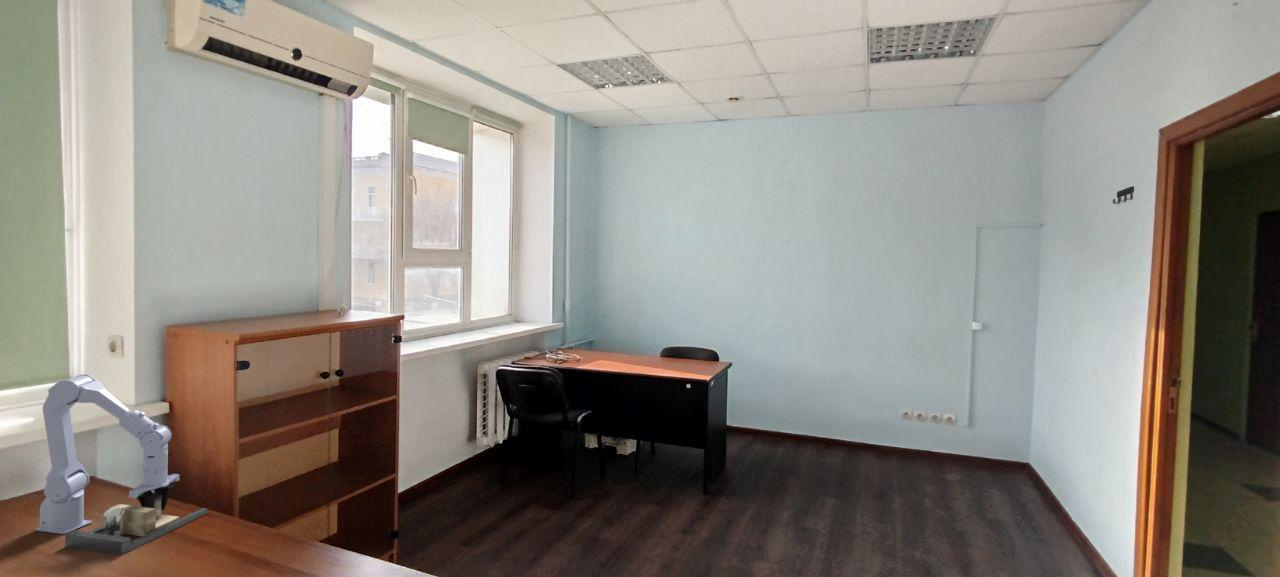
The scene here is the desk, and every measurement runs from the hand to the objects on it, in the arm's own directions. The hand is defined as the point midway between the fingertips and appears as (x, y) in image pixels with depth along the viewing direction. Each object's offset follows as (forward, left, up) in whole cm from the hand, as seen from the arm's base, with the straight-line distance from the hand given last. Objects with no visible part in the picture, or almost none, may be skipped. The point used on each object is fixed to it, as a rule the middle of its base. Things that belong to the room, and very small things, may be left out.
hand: (154, 512), depth 183 cm
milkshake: (0, -12, -3) cm, 12 cm away
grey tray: (0, -4, -3) cm, 6 cm away
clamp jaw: (0, -3, -3) cm, 5 cm away
